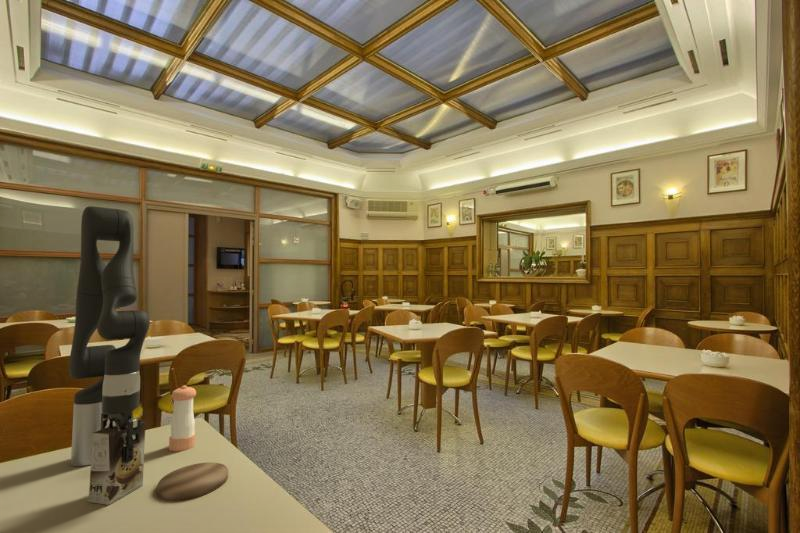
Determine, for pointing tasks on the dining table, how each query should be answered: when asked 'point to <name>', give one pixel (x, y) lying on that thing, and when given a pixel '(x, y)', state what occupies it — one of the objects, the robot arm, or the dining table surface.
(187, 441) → the pepper shaker
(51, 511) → the dining table surface
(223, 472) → the disc
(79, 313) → the robot arm
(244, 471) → the dining table surface
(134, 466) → the coffee box
